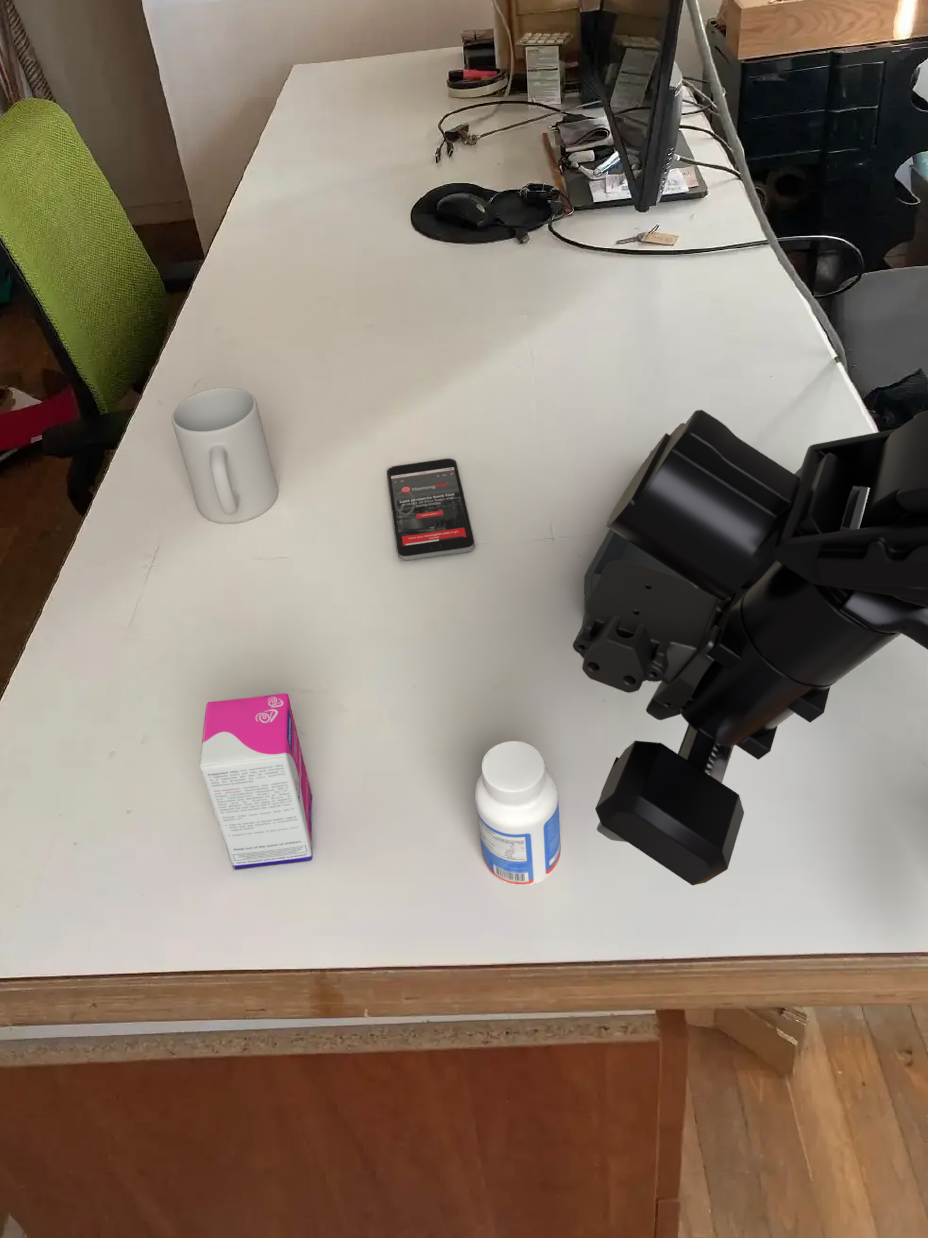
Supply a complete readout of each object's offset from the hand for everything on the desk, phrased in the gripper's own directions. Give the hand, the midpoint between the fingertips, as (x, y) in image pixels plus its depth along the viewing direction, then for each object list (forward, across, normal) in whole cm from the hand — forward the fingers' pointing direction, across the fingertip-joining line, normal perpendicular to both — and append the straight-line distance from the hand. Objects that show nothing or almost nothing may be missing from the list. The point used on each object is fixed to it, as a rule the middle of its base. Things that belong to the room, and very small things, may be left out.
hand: (629, 770), depth 59 cm
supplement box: (+23, +5, -15) cm, 28 cm away
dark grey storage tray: (+12, -33, +5) cm, 35 cm away
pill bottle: (+15, 0, 0) cm, 15 cm away
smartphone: (+26, -33, -21) cm, 47 cm away
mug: (+35, -27, -37) cm, 58 cm away
